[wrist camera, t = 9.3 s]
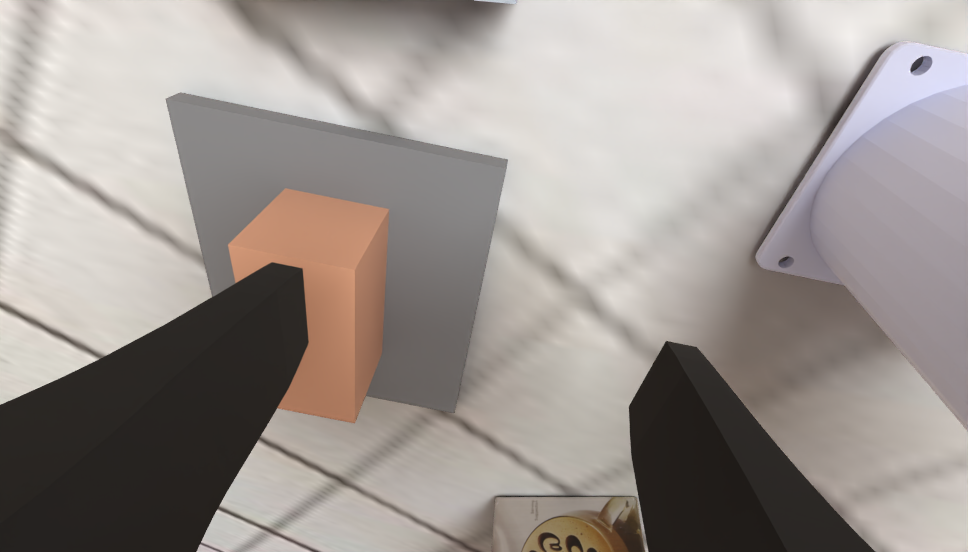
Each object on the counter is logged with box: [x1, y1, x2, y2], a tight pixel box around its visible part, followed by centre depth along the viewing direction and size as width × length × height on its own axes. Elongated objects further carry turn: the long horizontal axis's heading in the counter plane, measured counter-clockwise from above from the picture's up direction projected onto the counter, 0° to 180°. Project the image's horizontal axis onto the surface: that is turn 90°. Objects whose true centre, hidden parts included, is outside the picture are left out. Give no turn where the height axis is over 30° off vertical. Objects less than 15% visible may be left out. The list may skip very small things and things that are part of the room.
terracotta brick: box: [228, 188, 389, 423], centre depth 19 cm, size 8×4×4 cm, turn 170°
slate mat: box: [166, 93, 508, 413], centre depth 21 cm, size 12×14×1 cm
